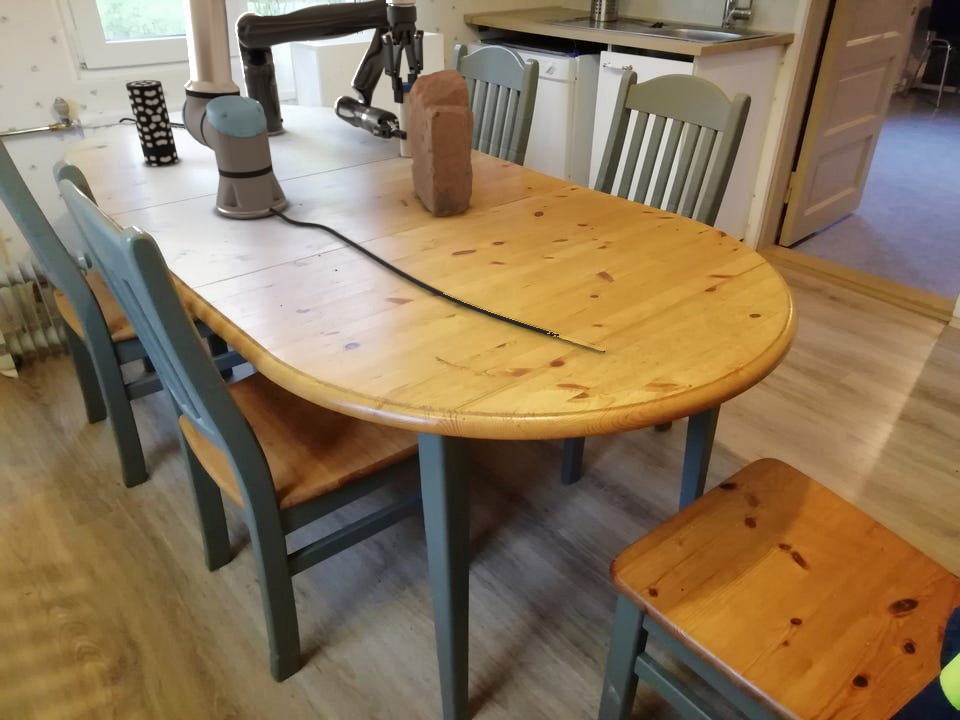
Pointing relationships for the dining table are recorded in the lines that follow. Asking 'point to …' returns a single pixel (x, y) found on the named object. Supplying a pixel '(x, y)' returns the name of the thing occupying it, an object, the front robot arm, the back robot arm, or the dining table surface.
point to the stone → (441, 141)
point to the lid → (407, 86)
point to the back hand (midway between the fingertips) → (412, 134)
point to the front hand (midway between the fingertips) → (405, 100)
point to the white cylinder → (405, 124)
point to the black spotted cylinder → (152, 122)
